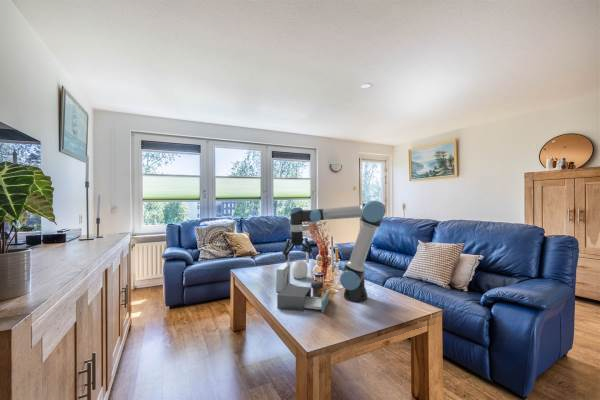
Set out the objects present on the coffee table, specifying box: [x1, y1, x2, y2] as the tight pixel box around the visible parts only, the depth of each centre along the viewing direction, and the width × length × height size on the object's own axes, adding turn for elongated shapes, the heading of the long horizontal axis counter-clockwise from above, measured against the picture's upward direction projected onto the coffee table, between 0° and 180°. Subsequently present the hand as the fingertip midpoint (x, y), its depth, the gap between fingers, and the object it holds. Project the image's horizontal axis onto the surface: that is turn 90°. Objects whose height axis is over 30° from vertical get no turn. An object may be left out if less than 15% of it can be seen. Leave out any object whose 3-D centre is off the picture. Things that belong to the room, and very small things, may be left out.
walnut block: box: [312, 288, 322, 298], centre depth 172 cm, size 4×4×7 cm
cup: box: [291, 259, 309, 280], centre depth 217 cm, size 13×13×14 cm
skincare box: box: [275, 262, 291, 293], centre depth 193 cm, size 21×6×16 cm, turn 168°
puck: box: [310, 280, 324, 289], centre depth 172 cm, size 8×8×2 cm
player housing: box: [276, 285, 312, 312], centre depth 162 cm, size 16×18×8 cm
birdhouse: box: [304, 290, 330, 314], centre depth 159 cm, size 16×18×7 cm
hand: (298, 263), depth 172 cm, fingers open, 13 cm apart
